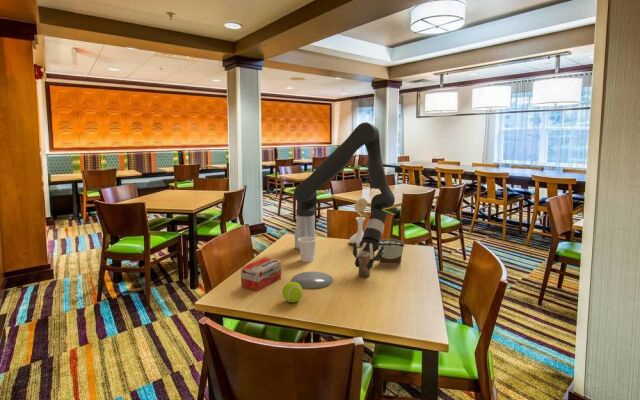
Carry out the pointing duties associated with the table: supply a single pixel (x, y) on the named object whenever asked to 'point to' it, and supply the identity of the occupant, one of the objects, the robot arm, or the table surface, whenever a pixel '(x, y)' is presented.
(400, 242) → the food container
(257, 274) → the medicine box
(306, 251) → the dixie cup
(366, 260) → the pepper mill
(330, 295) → the table surface
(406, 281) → the table surface
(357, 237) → the flower in vase
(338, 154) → the robot arm
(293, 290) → the tennis ball
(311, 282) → the trivet
